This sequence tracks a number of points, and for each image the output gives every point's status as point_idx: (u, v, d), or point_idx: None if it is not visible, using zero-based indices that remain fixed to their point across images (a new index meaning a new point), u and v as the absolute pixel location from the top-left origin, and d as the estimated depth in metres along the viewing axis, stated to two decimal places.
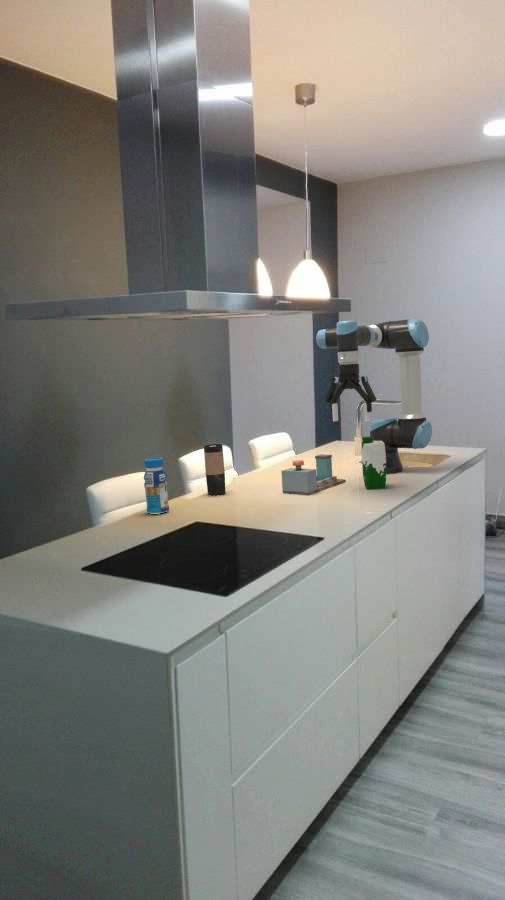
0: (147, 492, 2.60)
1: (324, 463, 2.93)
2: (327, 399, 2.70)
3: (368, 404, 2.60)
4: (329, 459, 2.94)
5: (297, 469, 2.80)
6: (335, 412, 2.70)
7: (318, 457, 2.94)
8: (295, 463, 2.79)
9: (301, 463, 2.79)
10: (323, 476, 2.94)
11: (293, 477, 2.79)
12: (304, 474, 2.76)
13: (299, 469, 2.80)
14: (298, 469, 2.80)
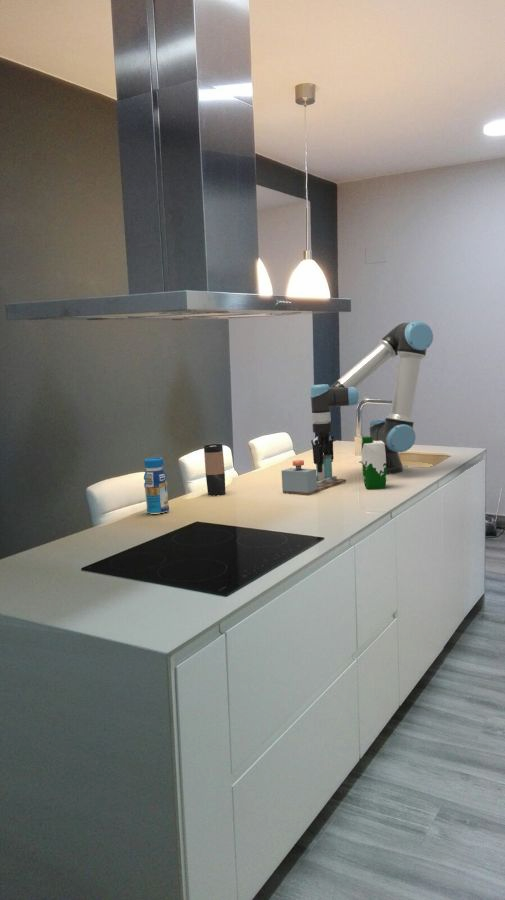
0: (147, 492, 2.60)
1: (324, 463, 2.93)
2: None
3: None
4: (329, 459, 2.94)
5: (297, 469, 2.80)
6: None
7: None
8: (295, 463, 2.79)
9: (301, 463, 2.79)
10: None
11: (293, 477, 2.79)
12: (304, 474, 2.76)
13: (299, 469, 2.80)
14: (298, 469, 2.80)
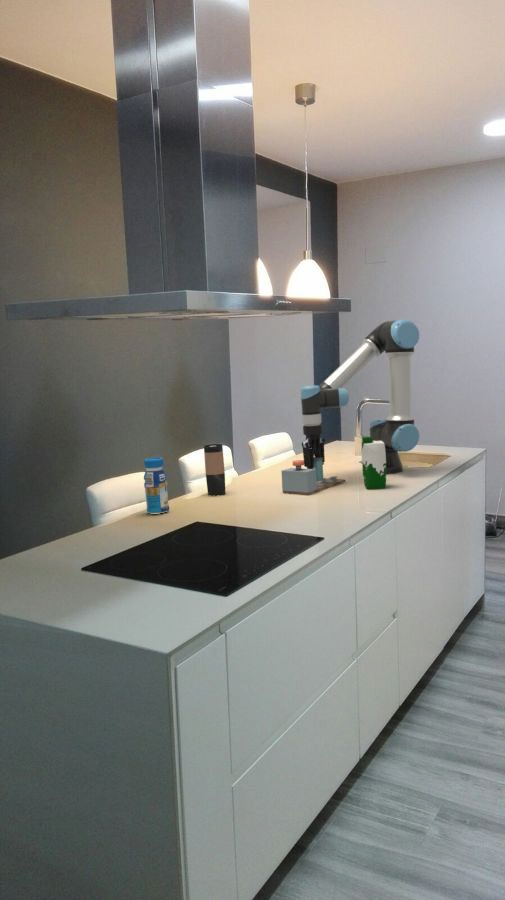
0: (147, 492, 2.60)
1: (315, 466, 2.88)
2: None
3: None
4: (320, 462, 2.89)
5: (297, 469, 2.80)
6: None
7: None
8: (295, 463, 2.79)
9: (301, 463, 2.79)
10: None
11: (293, 477, 2.79)
12: (304, 474, 2.76)
13: (299, 469, 2.80)
14: (298, 469, 2.80)
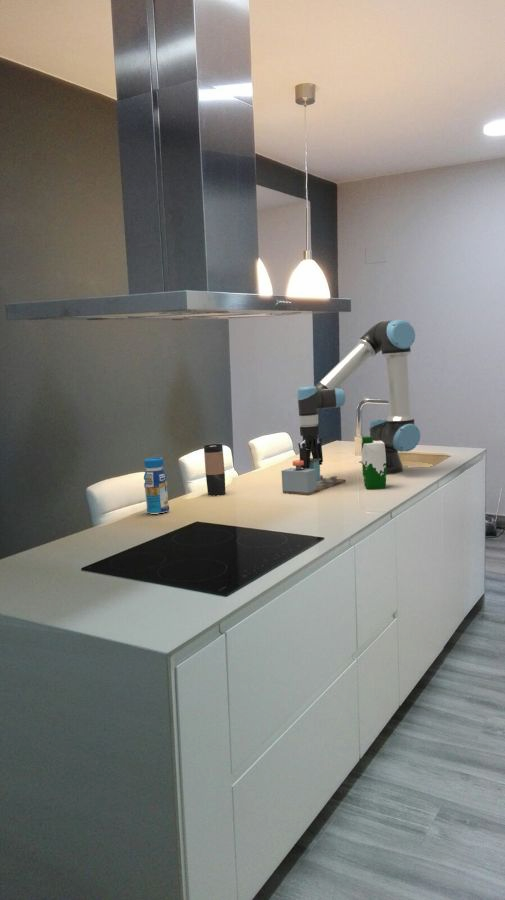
0: (147, 492, 2.60)
1: (311, 467, 2.85)
2: None
3: None
4: (316, 463, 2.87)
5: (297, 469, 2.80)
6: None
7: None
8: (295, 463, 2.79)
9: (301, 463, 2.79)
10: None
11: (293, 477, 2.79)
12: (304, 474, 2.76)
13: (299, 469, 2.80)
14: (298, 469, 2.80)
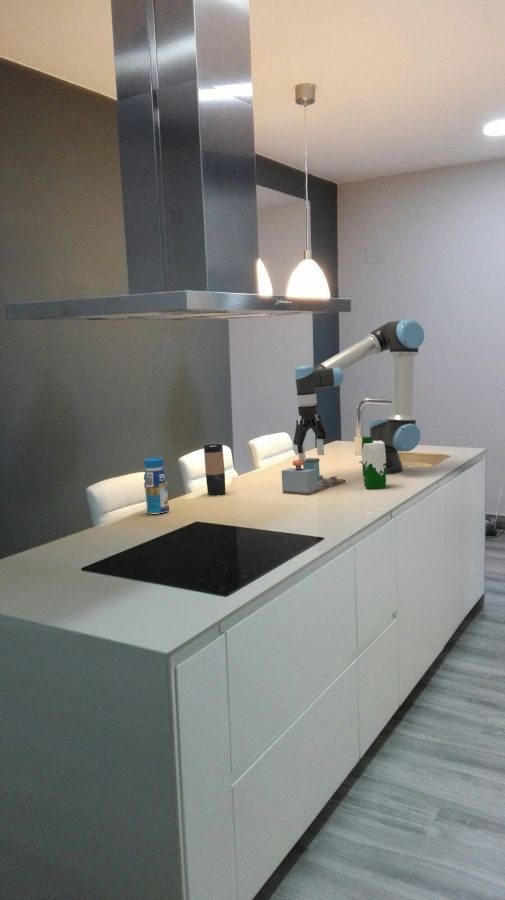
0: (147, 492, 2.60)
1: (311, 467, 2.86)
2: None
3: None
4: (316, 463, 2.87)
5: (297, 469, 2.80)
6: (319, 447, 2.92)
7: (305, 461, 2.87)
8: (295, 463, 2.79)
9: (301, 463, 2.79)
10: None
11: (293, 477, 2.79)
12: (304, 474, 2.76)
13: (299, 469, 2.80)
14: (298, 469, 2.80)
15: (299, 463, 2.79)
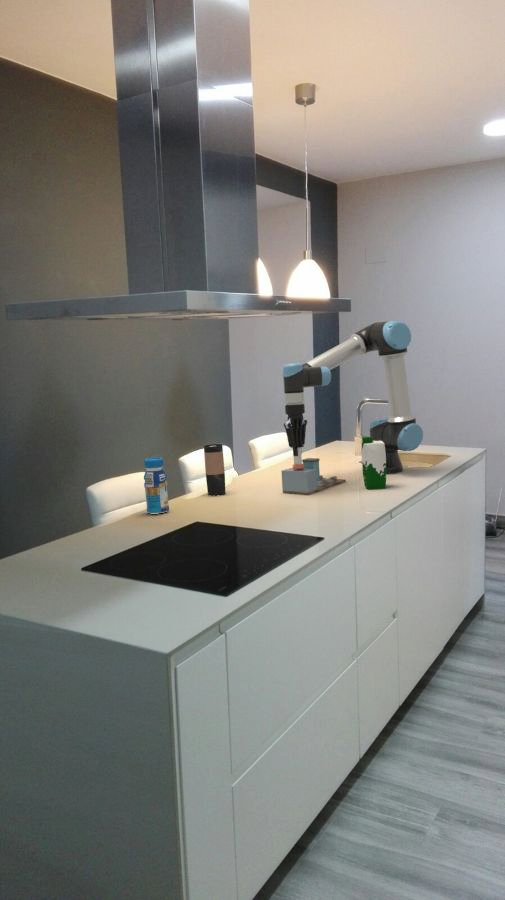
0: (147, 492, 2.60)
1: (311, 467, 2.86)
2: None
3: None
4: (316, 463, 2.87)
5: None
6: None
7: (305, 461, 2.87)
8: (295, 467, 2.79)
9: (301, 467, 2.79)
10: None
11: (293, 477, 2.79)
12: (304, 474, 2.76)
13: None
14: None
15: (299, 467, 2.79)
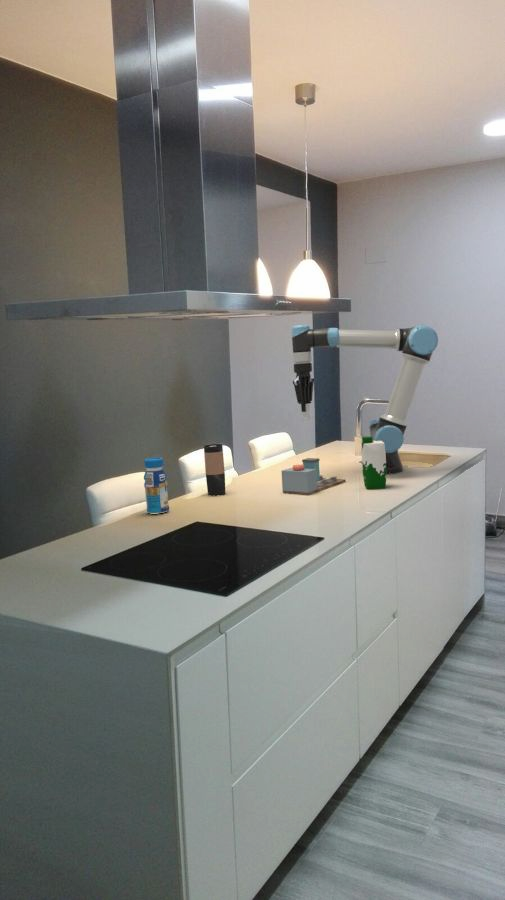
0: (147, 492, 2.60)
1: (311, 467, 2.86)
2: None
3: None
4: (316, 463, 2.87)
5: None
6: None
7: (305, 461, 2.87)
8: (295, 468, 2.79)
9: (301, 468, 2.79)
10: None
11: (293, 477, 2.79)
12: (304, 474, 2.76)
13: None
14: None
15: (299, 468, 2.79)
